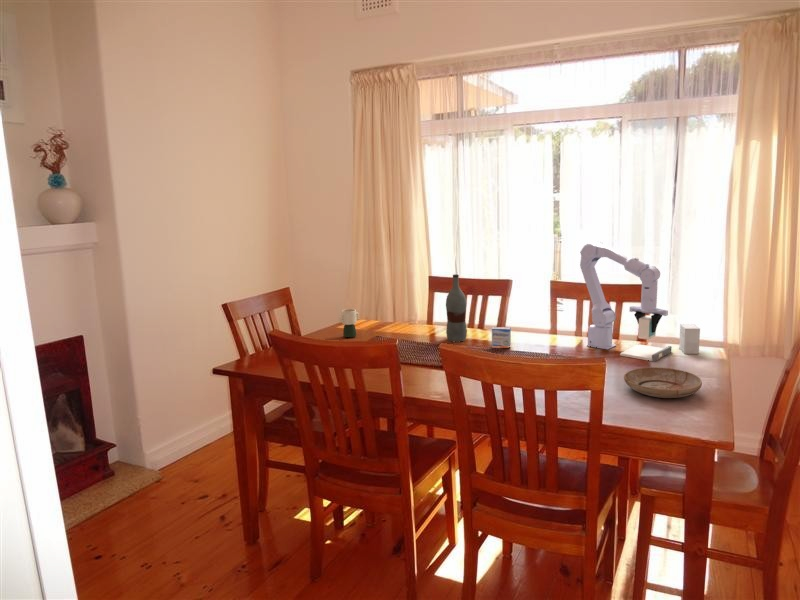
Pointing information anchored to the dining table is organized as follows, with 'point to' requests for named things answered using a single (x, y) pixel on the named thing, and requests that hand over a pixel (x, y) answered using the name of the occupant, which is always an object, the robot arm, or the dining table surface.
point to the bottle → (456, 313)
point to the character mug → (349, 321)
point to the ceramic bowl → (663, 382)
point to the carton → (645, 328)
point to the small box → (689, 338)
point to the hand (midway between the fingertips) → (647, 331)
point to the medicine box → (501, 336)
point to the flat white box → (646, 352)
